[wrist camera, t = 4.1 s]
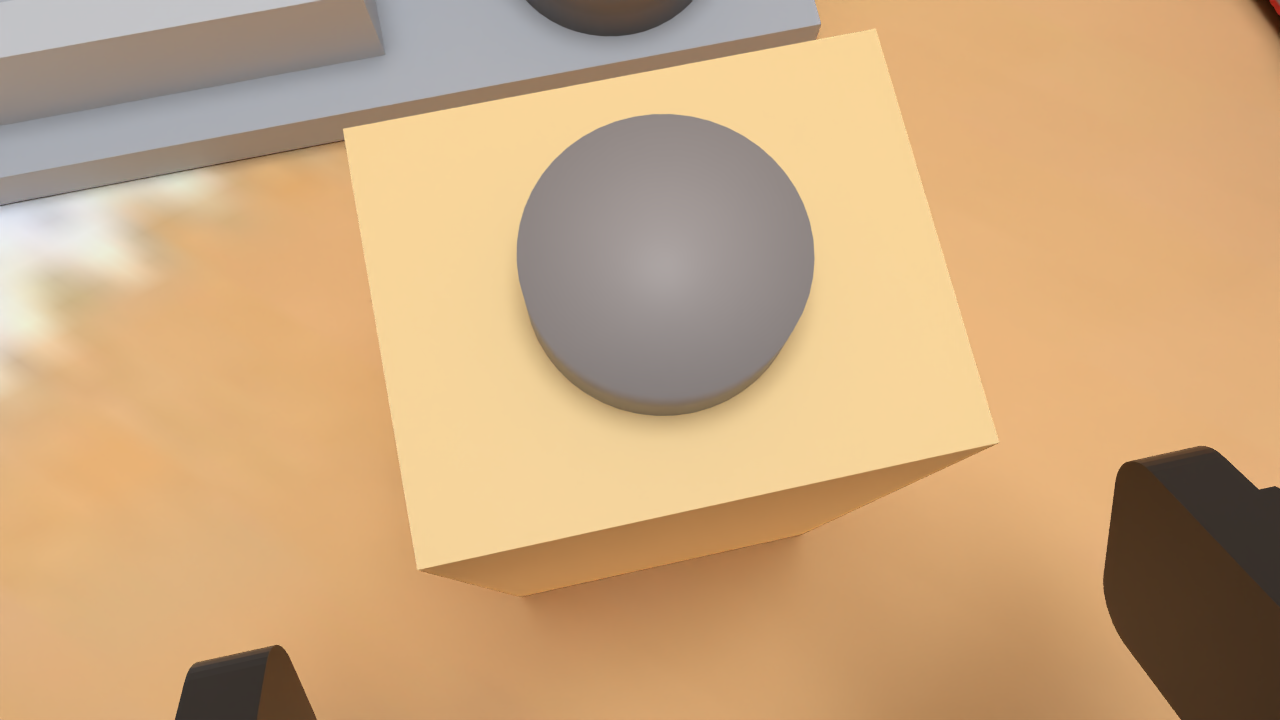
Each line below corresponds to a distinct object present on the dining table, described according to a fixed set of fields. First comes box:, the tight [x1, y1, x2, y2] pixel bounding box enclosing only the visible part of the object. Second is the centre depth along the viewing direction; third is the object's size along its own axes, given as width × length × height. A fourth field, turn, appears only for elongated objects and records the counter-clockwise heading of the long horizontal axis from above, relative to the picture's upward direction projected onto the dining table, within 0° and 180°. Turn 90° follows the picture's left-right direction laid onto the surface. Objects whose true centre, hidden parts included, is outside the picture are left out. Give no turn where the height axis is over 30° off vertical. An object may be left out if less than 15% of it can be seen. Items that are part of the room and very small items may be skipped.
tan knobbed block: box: [343, 29, 999, 597], centre depth 14 cm, size 5×4×11 cm
